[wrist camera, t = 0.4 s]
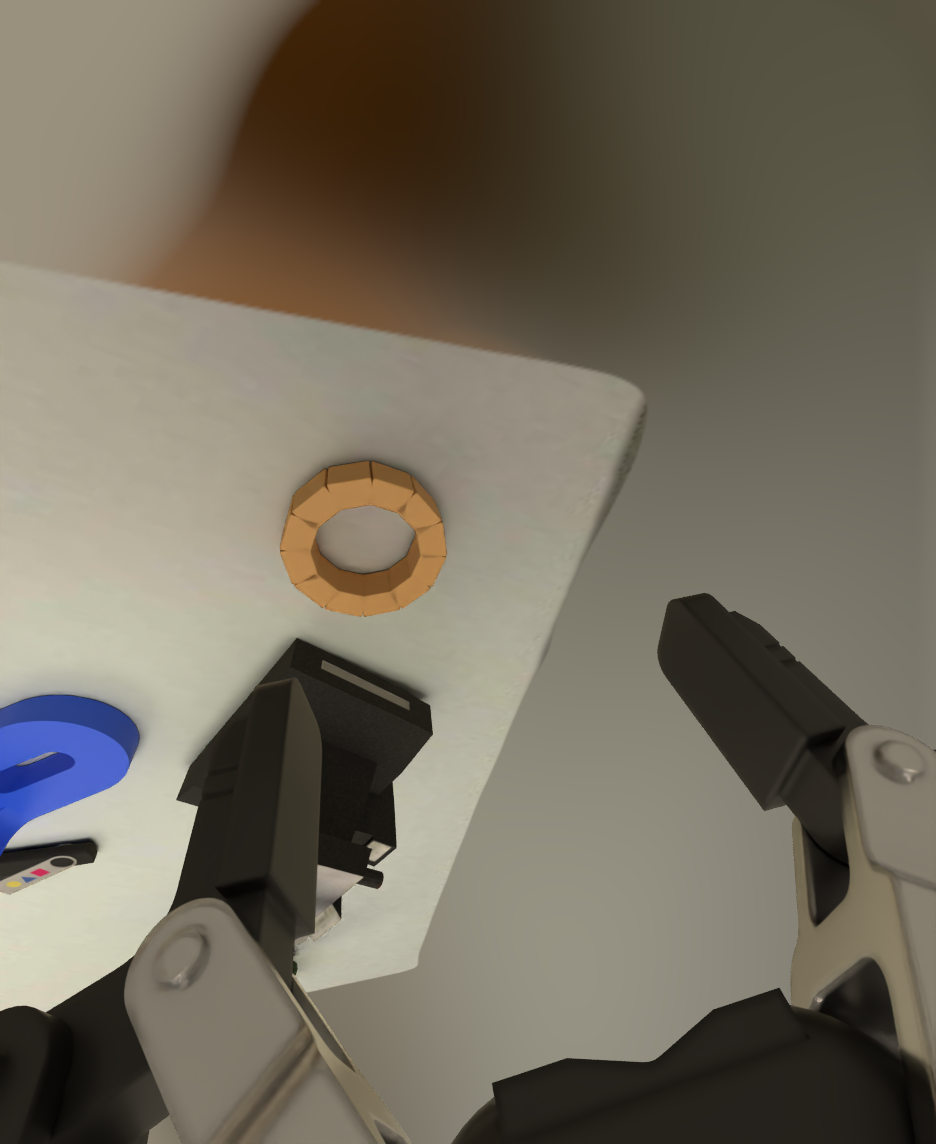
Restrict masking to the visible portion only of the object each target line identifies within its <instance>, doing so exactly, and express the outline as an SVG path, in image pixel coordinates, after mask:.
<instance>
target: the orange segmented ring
mask: <svg viewBox="0 0 936 1144" xmlns="http://www.w3.org/2000/svg"><path fill="white" fill-rule="evenodd" d="M366 505H373V506H376V507H379V508H383V509H386V510H389V511H393V512H396V513H399V515H400V516H401V517H402V518H403V519H404V520H405V521H406V522H407V523H408V524H409V525H410V526H411V527H412V528H413V529H414V530H415V539H414V541H413V543H412V545H411V548H410V550H409V552H408V554H407V556H406V557H405V558H403V559H402V560H401V561H399V562H398V563H397V564H395V565H394V566H393V567H391V568H390V569H388V570H386V571H381V572H376V573H370V574H365V575H361V574H357V573H353V572H349V571H344V570H340V569H337V568H336V567H335V566H334V565H333V564H332V563H330V562H329V561H328V560H327V559H326V558H324V557H323V556H322V555H321V554H320V552H319V549H318V546H317V543H316V540H315V537H316V534H317V531H318V528H319V527H320V526H321V525H322V524H324V523H325V522H326V521H327V520H329V519H330V518H331V517H332V516H334V515H335V514H336V513H338V512H339V511H340V510H343V509H349V508H355V507H360V506H366ZM280 554H281V556H282V559H283V562H284V564H285V567H286V570H287V572H288V575H289V577H290V580H291V583H292V584H295V585H294V586H295V588H297V589H298V590H299V591H301V592H302V593H303V594H305V595H306V596H307V597H309V598H310V599H311V600H313V601H314V602H315V603H317V604H318V605H319V606H321V607H322V608H323V607H325V609H326V610H331V611H335V612H340V613H345V614H350V615H355V616H360V617H361V616H362V614H363V615H364V617H366V616H371V615H376V614H381V613H386V612H391V611H396V610H400V607H401V608H404V607H405V606H407V605H408V604H410V603H411V602H412V601H414V600H415V599H417V598H418V597H420V596H421V595H422V594H424V593H425V592H427V591H428V590H429V589H430V586H433V584H434V582H435V580H436V578H437V576H438V574H439V572H440V570H441V568H442V566H443V563H444V561H445V559H446V555H447V550H446V543H445V535H444V528H443V522H442V519H441V516H440V513H439V510H438V508H437V505H436V503H435V501H434V500H433V499H432V498H431V496H430V495H429V494H428V493H427V492H426V491H425V490H424V488H423V487H422V486H421V485H420V484H419V483H418V482H417V480H416V479H415V478H414V477H413V476H411V477H410V475H409V474H408V473H405V472H403V471H400V470H397V469H394V468H391V467H388V466H385V465H382V464H379V463H376V462H373V461H372V462H371V465H370V463H369V461H364V462H358V463H352V464H346V465H339V466H333V467H329V468H328V471H327V470H326V469H324V470H322V471H321V472H320V473H319V474H317V475H316V476H315V477H314V478H313V479H311V480H310V481H309V482H308V483H306V484H305V485H304V486H303V487H302V488H300V489H299V490H298V491H297V492H296V493H295V495H293V498H292V501H291V505H290V508H289V512H288V515H287V519H286V522H285V526H284V530H283V535H282V539H281V544H280Z"/></svg>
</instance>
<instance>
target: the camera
mask: <svg viewBox="0 0 936 1144" xmlns="http://www.w3.org/2000/svg"><path fill="white" fill-rule="evenodd" d="M291 678H297V679H298V680H299V682H300V684H301V686H302V688H303V691H304V693H305V695H306V698H307V700H308V702H309V705H310V707H311V709H312V712H313V714H314V716H315V719H316V721H317V724H318V727H319V731H320V735H321V743H322V767H321V792H320V816H319V841H318V865H317V890H316V914H315V934H311V935H310V936H311V938H312V939H313V941H315V940H317V939H318V938H319V937H320V936H321V935H323V934H324V933H325V932H326V931H328V930H329V929H330V928H331V927H333V926H334V925H335V924H336V923H338V922H339V921H340V920H341V897H342V895H343V894H344V893H345V892H347V891H348V890H349V889H350V888H351V887H353V886H354V885H355V884H360V885H364V886H368V887H372V888H376V889H378V888H380V886H381V885H382V882H383V877H384V876H383V873H382V872H380V871H377V870H373V869H369V868H367V865H368V864H369V865H372V866H375V865H377V864H378V863H379V862H380V861H381V860H383V859H384V858H385V857H386V856H387V855H389V854H390V853H391V852H392V851H393V850H395V849H396V827H395V809H394V795H393V783H392V782H393V781H394V780H395V779H396V778H397V777H398V776H399V775H400V774H401V773H402V772H403V770H404V769H405V768H406V767H407V766H408V764H409V763H410V762H411V761H412V759H413V758H414V757H415V756H416V754H417V753H418V752H419V751H420V749H421V748H422V747H423V746H424V745H425V743H426V742H427V741H428V740H429V738H430V737H431V736H432V735H433V731H432V721H431V710H430V705H428V704H426V703H425V702H423V701H421V700H419V699H418V698H416V697H414V696H412V695H410V694H408V693H406V692H404V691H402V690H400V689H398V688H396V687H394V686H392V685H390V684H388V683H386V682H384V681H382V680H380V679H378V678H376V677H374V676H372V675H370V674H368V673H366V672H364V671H362V670H360V669H358V668H356V667H354V666H352V665H350V664H348V663H346V662H344V661H342V660H340V659H338V658H336V657H334V656H332V655H330V654H328V653H326V652H323V651H321V650H319V649H317V648H315V647H313V646H311V645H309V644H307V643H305V642H303V641H301V640H299V639H296V640H295V642H294V643H293V644H292V645H291V646H290V648H289V649H288V650H287V651H286V652H285V654H284V655H283V656H282V657H281V658H280V659H279V661H278V662H277V663H276V664H275V665H274V667H273V668H272V669H271V670H270V671H269V673H268V674H267V675H266V676H265V677H264V679H263V680H262V681H261V682H260V683H259V685H262V684H267V683H272V682H277V681H281V680H286V679H291ZM252 696H253V692H252V693H251V694H250V695H249V697H248V698H247V699H246V700H245V701H244V703H243V704H242V705H241V706H240V707H239V709H238V710H237V711H236V712H235V713H234V714H233V716H232V717H231V718H230V719H229V720H228V722H227V723H226V724H225V725H224V726H223V728H222V729H221V730H220V731H219V732H218V734H217V735H216V736H215V737H214V738H213V740H212V741H211V742H210V743H209V744H208V746H207V747H206V748H205V749H204V750H203V752H202V753H201V754H200V755H199V756H198V758H197V759H196V760H195V761H194V762H193V763H192V765H191V766H190V767H189V770H188V772H187V775H186V777H185V780H184V782H183V784H182V787H181V789H180V792H179V794H178V797H177V799H176V800H178V801H181V802H185V803H188V804H192V805H195V806H199V802H200V801H202V796H201V794H202V790H203V786H204V782H205V778H206V777H208V773H207V771H208V767H209V763H210V759H211V755H212V751H213V747H214V744H215V743H216V741H217V740H218V738H219V737H220V735H221V734H222V732H223V731H224V729H225V728H226V726H227V725H228V723H229V722H230V720H231V719H233V718H238V717H243V716H247V715H249V711H250V706H251V701H252ZM308 936H309V935H308ZM308 936H304V937H300V938H297V939H295V943H294V946H296V945H298V944H300V943H302V942H304V941H305V940H307V938H308Z"/></svg>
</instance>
